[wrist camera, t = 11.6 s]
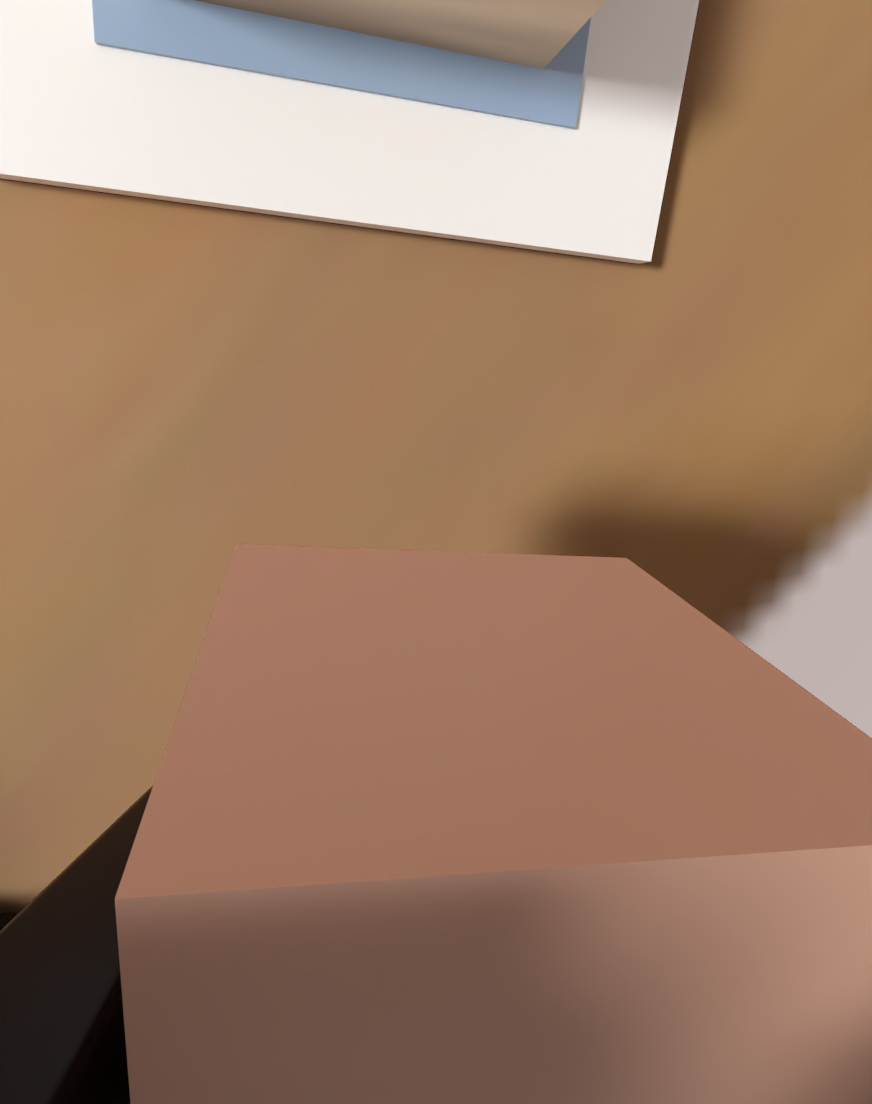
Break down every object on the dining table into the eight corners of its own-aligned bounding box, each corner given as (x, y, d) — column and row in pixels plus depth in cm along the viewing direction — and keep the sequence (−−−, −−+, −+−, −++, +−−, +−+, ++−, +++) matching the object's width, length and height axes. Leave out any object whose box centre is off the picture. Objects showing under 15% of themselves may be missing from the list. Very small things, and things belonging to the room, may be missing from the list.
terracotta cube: (565, 855, 10) (780, 1306, 5) (235, 878, 9) (156, 1456, 4) (626, 558, 9) (1003, 836, 4) (235, 544, 8) (113, 900, 3)
